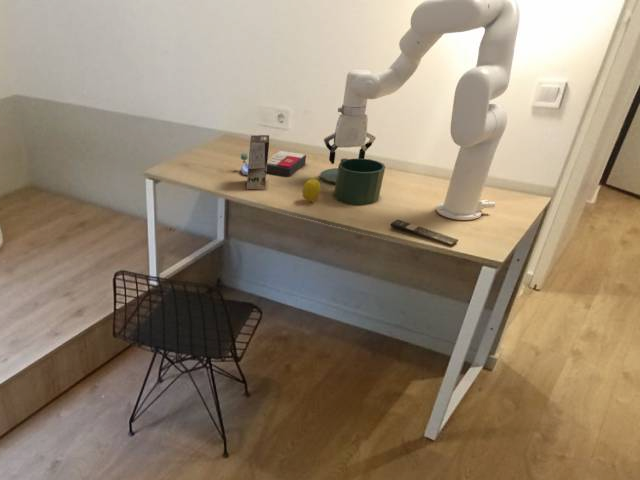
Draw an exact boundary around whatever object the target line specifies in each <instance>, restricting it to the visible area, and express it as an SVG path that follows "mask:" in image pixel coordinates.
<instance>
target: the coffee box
mask: <svg viewBox="0 0 640 480" xmlns="http://www.w3.org/2000/svg"><path fill="white" fill-rule="evenodd" d="M269 149H270V135H268V134H259V135H255V134H254V135H252V134H251V135H250V142H249V153H248V155H249V156H248V163H249V164H248V175H247V181H246V190H260V191H261V190H265V188H266V178H267V173H266V171H267V161H268V159H269Z"/></svg>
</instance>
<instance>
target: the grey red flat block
mask: <svg viewBox="0 0 640 480" xmlns="http://www.w3.org/2000/svg"><path fill="white" fill-rule="evenodd" d="M306 158H307V155H306V154H303V153H299V152H298V153H297V152H290V151H284V150H279V151H278V152H276V153H274V154H273V155H272V156H271V157H270V158H268V161H267V171H266V174H272V175H277V176H284V177H291V176H292V175H293V174H294V173H296V172H297V171H298V170H299V169H301V168H303V167H304V166H305V165H306V160H307V159H306Z"/></svg>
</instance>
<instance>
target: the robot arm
mask: <svg viewBox="0 0 640 480" xmlns="http://www.w3.org/2000/svg"><path fill="white" fill-rule="evenodd" d="M519 8H520V7H519V5H518V3H517V1H516V0H424V1H423V2H421V3H419V4H418V5H417V6H416V8H414V10H413V12H412V14H411V17H410V27H409V29H408V30H407V31H406V32H405V33H404V35H402V36H401V38H400V39H399V44H398V47H399V50H400V51H401V52H400V54H399V56H398V57H397V58H396V59H395V61H394V62H393V63H392V64H391V65H390V66H389V67H388V68H387V69H384V70H380V71H377V72H373V73H372V72H371V71H370V70H368V69H364V68H362V69H361V68H360V69H359V68H358V69H352V70H349V71H348V73H347V75H346V78H345V79H346V80H345V87H344V95H343V101H342V105H341V107H338V108H337V113H341V114H339V115H338V119H337V122H336V126H335V130H334V132H333V133H331V134H330V135H328V136H326V137H324V138H323V142H324V144H325V146H326V148H327V150H328V151H329V157H328V161H329V162H330V163H331V165H334V164H335V160H336V150H337V149H338V148H360V149H359V152H358V158H357V159H360V158H361V159H365V157H366V152H367V150H368V149H369V148H371V147H372V145H373V143H374V141H375V140H376V137H377V136H375V135H373V134H372V133H370V132H368V123H369V122H368V118H369V117H368V114H367V113H366V112H367V111H366V110H367V103H368V100H376V99H379V98H382V97H385V96H390V95H392V94H394V93H396V92H397V91H398V90H400V88H402V87H403V85H404V84H405V83H406V82H407V81H408V80H409V79H410V78H411V77H412V76H413V75H414V74H415V72H416V71H417V70H418V68H419V66H420V64H421V62H422V58H423V57H424V56H425V55H426V54H427V53H428V52H429V51H430V50H431V48H432V47H434V45H435V44H436V43H437V42H438V41H439V40H440V39H441V38H442V37H443V36H444V35H445V34H456V33H464V32H470V31H472V30H477V29H481V28H483V29H484V32H483V35H482V37H481V39H480V40H481V41H480V43H479V46H478V47H479V48H478V53H477V54H478V56H477V61H476V65H475V67H472V68H470V69H469V70H466V72H464V73H463V75H462V76H461V77H460V78H459V80H458V82H457V84H456V87H455V90H454V96H453V102H452V103H453V105H452V111H451V119H450V129H449V131H450V137H451V139H452V141H453V143H454V144H455V145H457V146H458V147H459V150H458V153H457V156H456V160H455V162H454V166H453V170H452V174H451V176H450V181H449V185H448V188H447V191H446V195H445V198H444V201H443V202H442V203H440V204H438V205H437V208H436V212H437V214H439V215H441V216H442V217H445V218H448V219H452V220H457V221H458V220H459V221H472V220H476V219H478V218H480V217H481V216H482V213H483V212H482V210H484V209H495V207H496V202H495V201H488V199H481V198H482V195H483V192H484V188H485V184H486V182H487V179H488V175H489V173H490V169H491V166H492V163H493V159H494V157H495V154H496V152H497V151H496V150H497V148H498V145H499V143H500V142H501V139H502V137H503V135H504V133H505V131H506V127H507V125H508V124H507V123H508V115H507V112H506V110H505V109H504V108H503V107H502V106H501V105H499V104H496V103H490V101H492V100H494V99H497V98H498V97H500V96H502V95H503V94H504V93H506V90H507V89H508V87H509V85H510V79H511V73H512V68H513V67H512V66H513V60H514V53H515V46H516V41H517V36H518V31H519V26H520V25H519V24H520V9H519ZM367 138H368V139H369V140H368V141H367ZM331 140H333V143H332V144H330V141H331Z"/></svg>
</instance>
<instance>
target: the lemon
mask: <svg viewBox="0 0 640 480" xmlns="http://www.w3.org/2000/svg"><path fill="white" fill-rule="evenodd" d="M320 193H321V184H320V182H319V181H318V180H317V179H315V178H314V177H312V178H310V179H308V180H307V181H305V183H304V185H303V187H302V197H303V198H304V200H306V201H307V202H308V203H312V202H313V201H315V200H317V199H318V198H319V196H320Z"/></svg>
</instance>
